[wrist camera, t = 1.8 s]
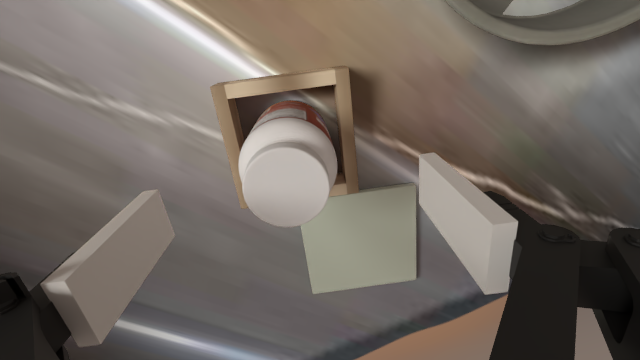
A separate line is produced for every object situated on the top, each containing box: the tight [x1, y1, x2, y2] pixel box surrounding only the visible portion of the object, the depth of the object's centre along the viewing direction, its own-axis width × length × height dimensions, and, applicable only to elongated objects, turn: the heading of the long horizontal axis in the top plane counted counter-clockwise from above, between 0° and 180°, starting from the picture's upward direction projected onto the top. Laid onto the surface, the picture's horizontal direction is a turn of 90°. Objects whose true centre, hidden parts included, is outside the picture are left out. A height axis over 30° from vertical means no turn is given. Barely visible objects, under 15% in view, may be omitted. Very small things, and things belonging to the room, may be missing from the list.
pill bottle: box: [238, 100, 337, 227], centre depth 22 cm, size 6×6×11 cm
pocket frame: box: [210, 66, 359, 209], centre depth 26 cm, size 10×10×2 cm
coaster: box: [301, 183, 416, 294], centre depth 31 cm, size 11×11×1 cm
